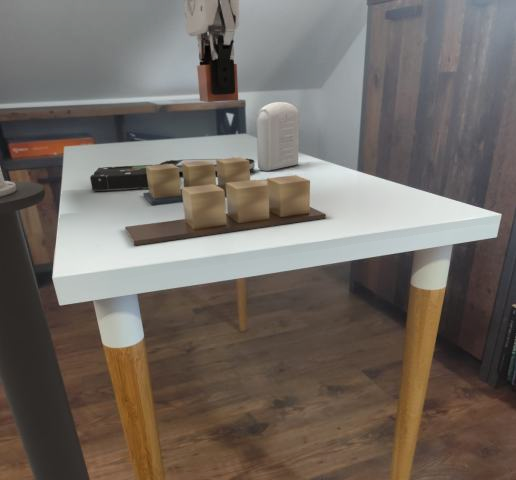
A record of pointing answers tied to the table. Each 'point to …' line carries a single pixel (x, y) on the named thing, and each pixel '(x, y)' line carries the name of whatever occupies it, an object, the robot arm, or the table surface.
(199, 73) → the reddish wooden cube
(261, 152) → the white rounded slab
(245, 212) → the front word
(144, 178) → the disk drive
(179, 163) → the gaming console
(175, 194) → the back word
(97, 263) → the table surface
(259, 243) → the table surface
